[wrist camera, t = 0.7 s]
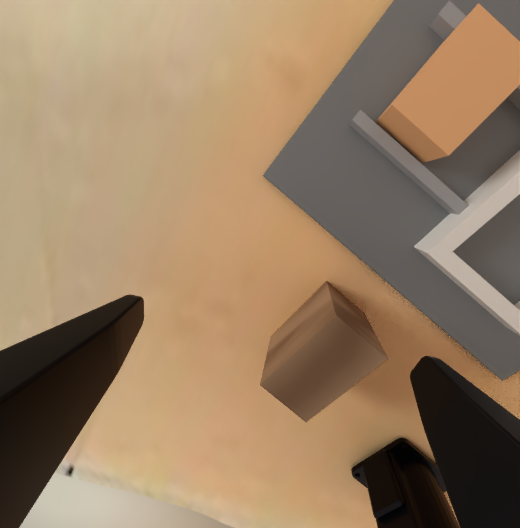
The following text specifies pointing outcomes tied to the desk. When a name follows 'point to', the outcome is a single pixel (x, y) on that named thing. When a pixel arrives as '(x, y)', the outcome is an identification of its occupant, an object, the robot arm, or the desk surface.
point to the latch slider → (455, 88)
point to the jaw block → (320, 353)
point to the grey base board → (419, 185)
